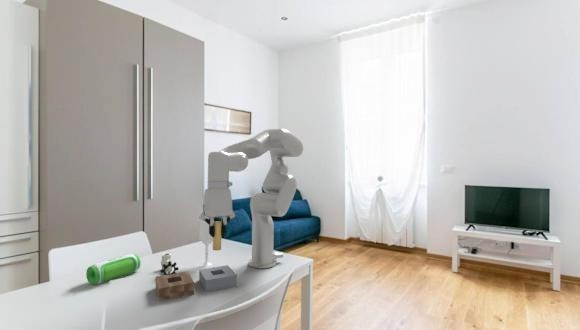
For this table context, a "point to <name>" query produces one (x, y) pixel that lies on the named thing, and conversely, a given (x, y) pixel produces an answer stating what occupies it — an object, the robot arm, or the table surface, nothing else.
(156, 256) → the table surface
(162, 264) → the valve
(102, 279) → the speaker
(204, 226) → the champagne flute
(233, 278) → the socket
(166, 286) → the mount
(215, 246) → the pin
